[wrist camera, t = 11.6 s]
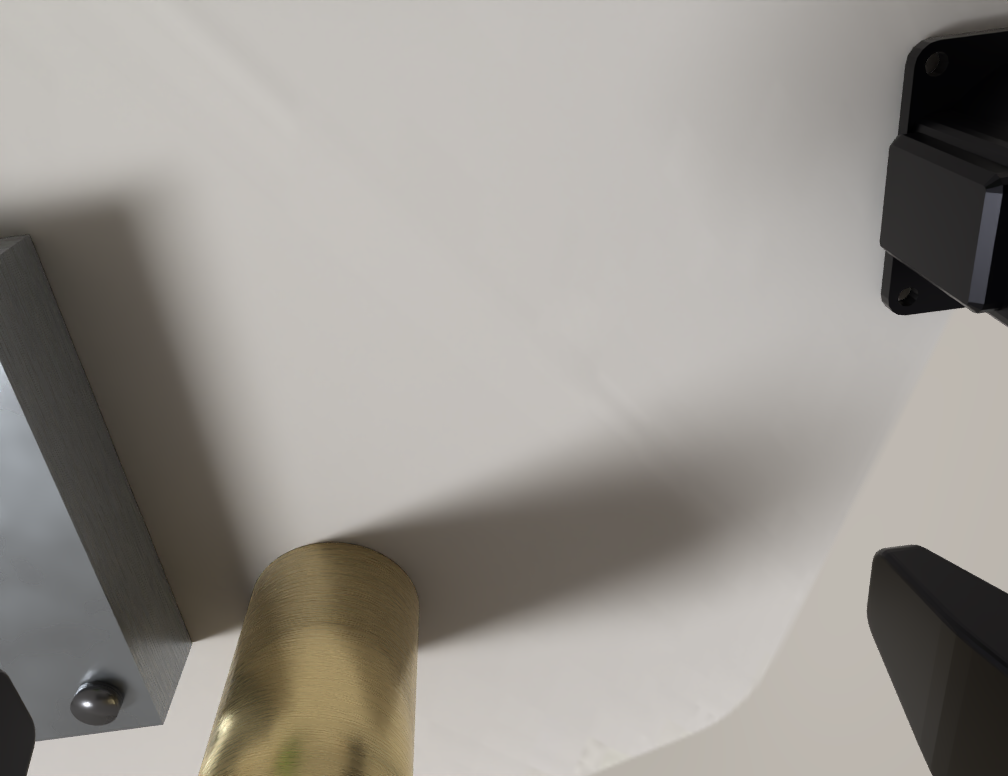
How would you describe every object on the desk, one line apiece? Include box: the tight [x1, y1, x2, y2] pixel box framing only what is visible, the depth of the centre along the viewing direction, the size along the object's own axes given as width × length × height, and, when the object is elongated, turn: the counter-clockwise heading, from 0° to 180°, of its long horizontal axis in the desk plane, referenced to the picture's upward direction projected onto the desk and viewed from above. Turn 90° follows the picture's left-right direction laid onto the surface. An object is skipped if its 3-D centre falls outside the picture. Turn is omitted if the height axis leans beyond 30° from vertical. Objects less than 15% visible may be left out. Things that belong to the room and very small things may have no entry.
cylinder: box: [198, 542, 419, 776], centre depth 20 cm, size 5×5×11 cm
